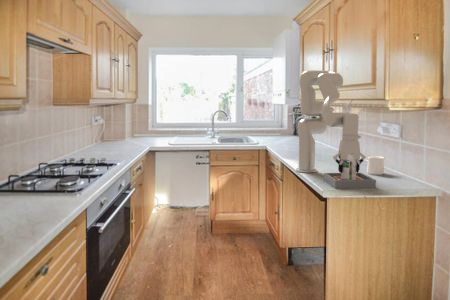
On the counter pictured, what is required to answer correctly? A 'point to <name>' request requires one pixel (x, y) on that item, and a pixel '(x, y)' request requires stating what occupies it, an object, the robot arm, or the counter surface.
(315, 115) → the robot arm
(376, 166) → the cup
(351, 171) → the syrup box
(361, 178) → the walled box
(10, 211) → the counter surface
